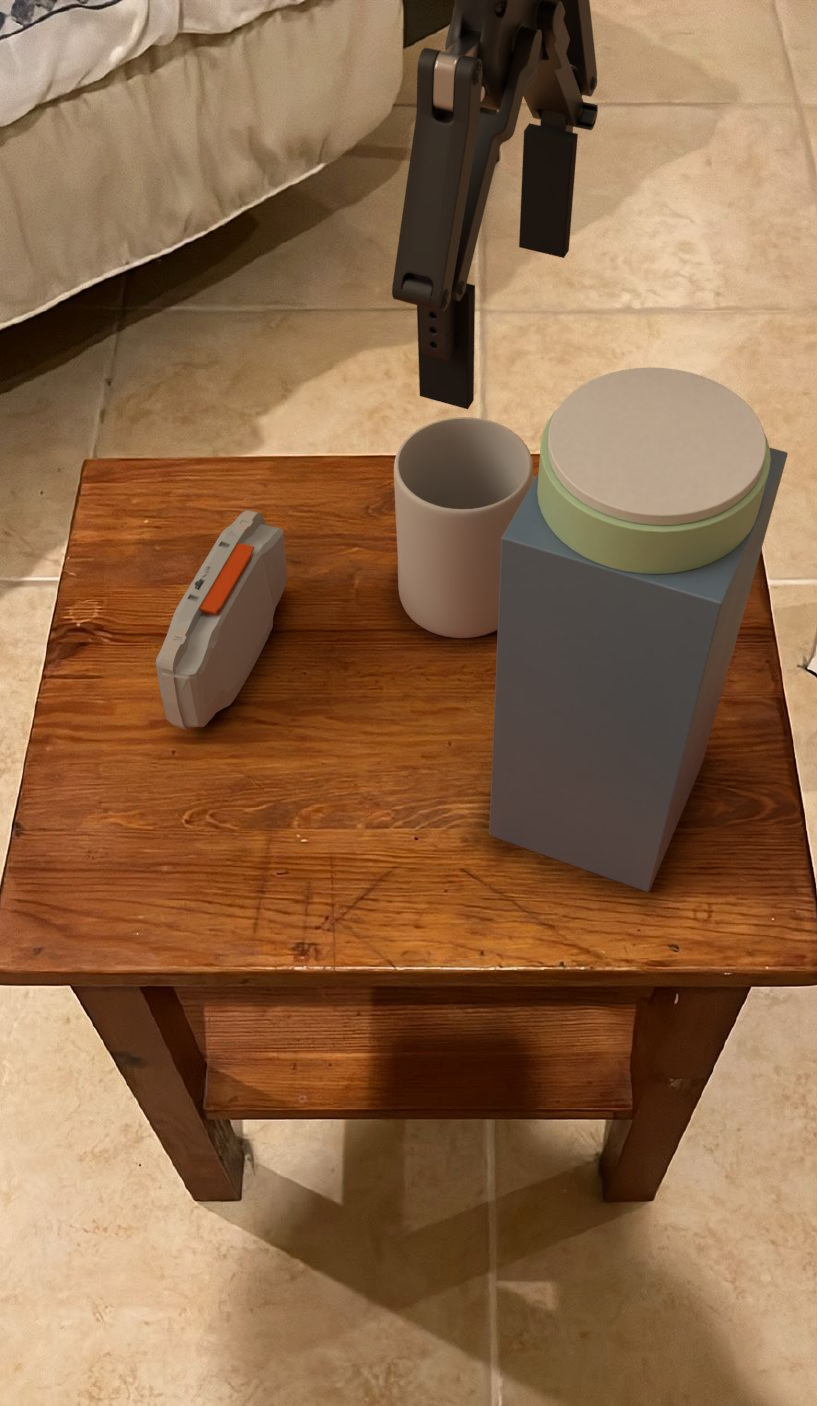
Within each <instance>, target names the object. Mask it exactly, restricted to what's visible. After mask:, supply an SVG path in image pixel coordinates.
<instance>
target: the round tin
mask: <svg viewBox="0 0 817 1406" xmlns="http://www.w3.org/2000/svg"><path fill="white" fill-rule="evenodd" d="M770 448H771V447H770V445H769V440H768V438H767V435H766V433H765V430H764V427H763V425H762V423H761V421H760V419H759V417H758V416H757V414H756V412H755V411H754V410H753V408H752V407H751V406H750V405H749V404H748V403H747V402H746V401H745V400H744V399H743V398H742V397H741V396H739V395H738V394H737V393H736V392H734V391H733V390H732V389H730V388H728V387H727V386H725V385H723V384H721V383H719V382H717V381H715V380H713V379H711V378H709V377H706V376H703V375H700V374H697V373H693V372H690V371H685V370H680V369H676V368H675V369H674V368H668V367H635V368H628V369H621V370H617V371H613V372H609V373H605V374H603V375H600V376H598V377H595V378H593V379H590V380H589V381H586V382H585V383H583V384H581V385H580V386H579V387H577V388H575V389H574V390H573V391H572V392H571V393H569V394H568V395H567V396H566V397H565V398H564V399H563V400H562V402H560V404H559V406H557V408H556V409H555V410H554V411H553V413H552V414H551V416H550V417H549V419H548V420H547V422H546V424H545V426H544V429H543V431H542V434H541V438H540V447H539V463H538V473H539V475H538V474H537V475H538V489H537V494H538V503H539V506H540V509H541V513H542V515H543V517H544V519H545V521H546V523H547V524H548V526H549V527H550V528H551V530H552V531H553V533H554V534H555V535H556V536H557V537H558V538H559V539H560V540H561V541H562V542H563V543H564V544H566V545H567V546H568V547H569V548H571V549H572V550H573V551H575V552H577V553H578V554H580V555H582V556H583V557H585V558H587V559H589V560H591V561H593V562H596V563H598V564H601V565H604V566H607V567H609V568H613V569H617V570H621V571H626V572H633V573H639V574H670V573H677V572H684V571H688V570H692V569H696V568H699V567H702V566H705V565H707V564H710V563H712V562H714V561H716V560H718V559H720V558H722V557H724V556H725V555H727V554H728V553H729V552H731V551H732V550H734V549H735V548H736V547H737V546H738V545H739V544H740V543H741V542H742V541H743V540H744V539H745V538H746V536H747V535H748V534H749V533H750V531H751V529H752V527H753V525H754V523H755V521H756V518H757V515H758V512H759V508H760V504H761V500H762V496H763V493H764V489H765V485H766V481H767V478H768V474H769V469H770V462H771V458H770Z"/></svg>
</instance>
